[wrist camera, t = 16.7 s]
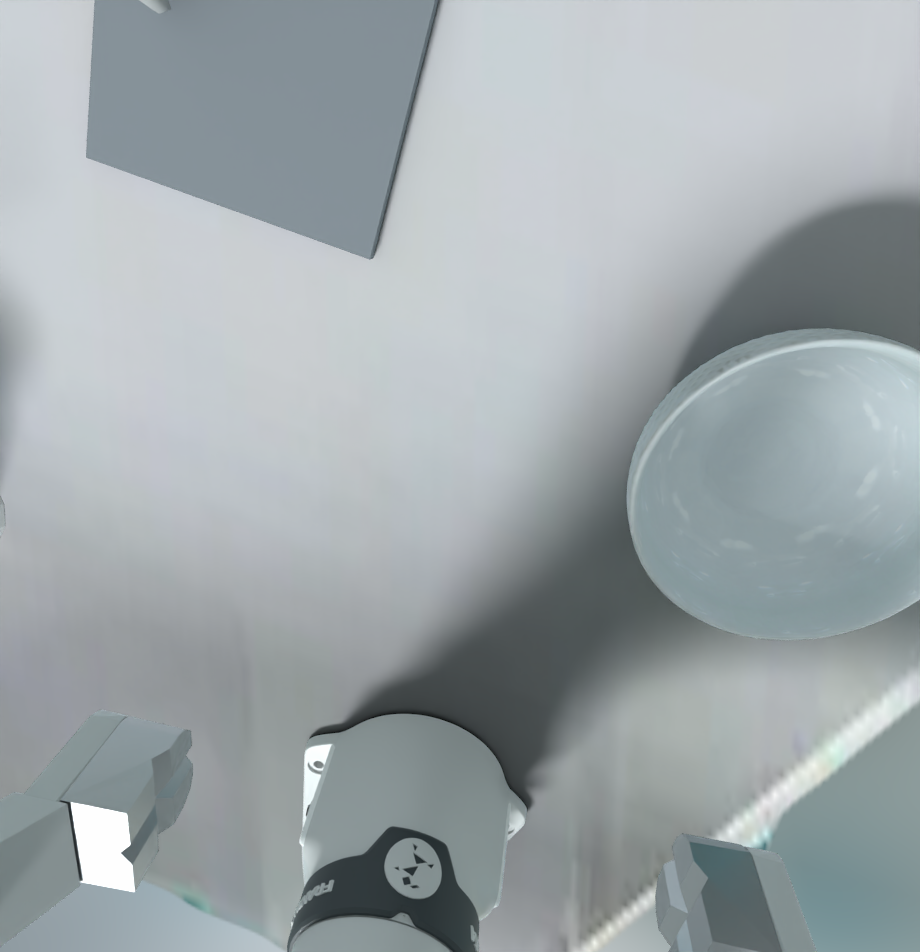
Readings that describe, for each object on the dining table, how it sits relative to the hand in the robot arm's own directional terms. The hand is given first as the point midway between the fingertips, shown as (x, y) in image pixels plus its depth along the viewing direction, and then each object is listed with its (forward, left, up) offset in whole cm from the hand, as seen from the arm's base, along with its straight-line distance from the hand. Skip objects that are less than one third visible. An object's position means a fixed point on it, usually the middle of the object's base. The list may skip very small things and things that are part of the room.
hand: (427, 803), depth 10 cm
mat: (+13, +17, -29) cm, 36 cm away
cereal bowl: (0, -16, -29) cm, 33 cm away
